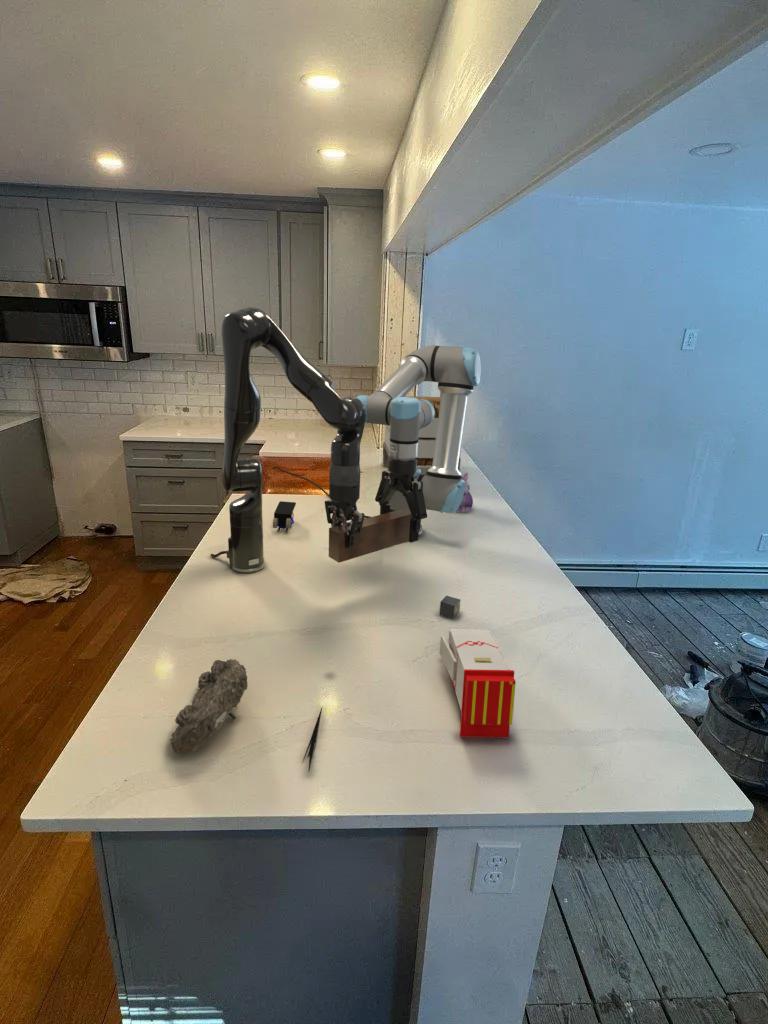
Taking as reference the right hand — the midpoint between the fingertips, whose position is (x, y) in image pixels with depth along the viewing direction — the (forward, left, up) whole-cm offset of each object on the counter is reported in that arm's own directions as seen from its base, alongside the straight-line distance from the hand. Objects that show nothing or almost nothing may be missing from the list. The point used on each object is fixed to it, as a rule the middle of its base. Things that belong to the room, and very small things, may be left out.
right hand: (398, 534), depth 157 cm
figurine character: (-57, -2, -16) cm, 59 cm away
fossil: (+20, -64, -16) cm, 69 cm away
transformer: (-82, +88, -16) cm, 121 cm away
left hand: (0, -19, +2) cm, 19 cm away
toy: (+45, -19, -16) cm, 51 cm away
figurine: (-34, +66, -16) cm, 76 cm away
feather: (+33, -49, -16) cm, 61 cm away
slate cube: (+20, +1, -16) cm, 26 cm away
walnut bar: (0, -9, -2) cm, 9 cm away
